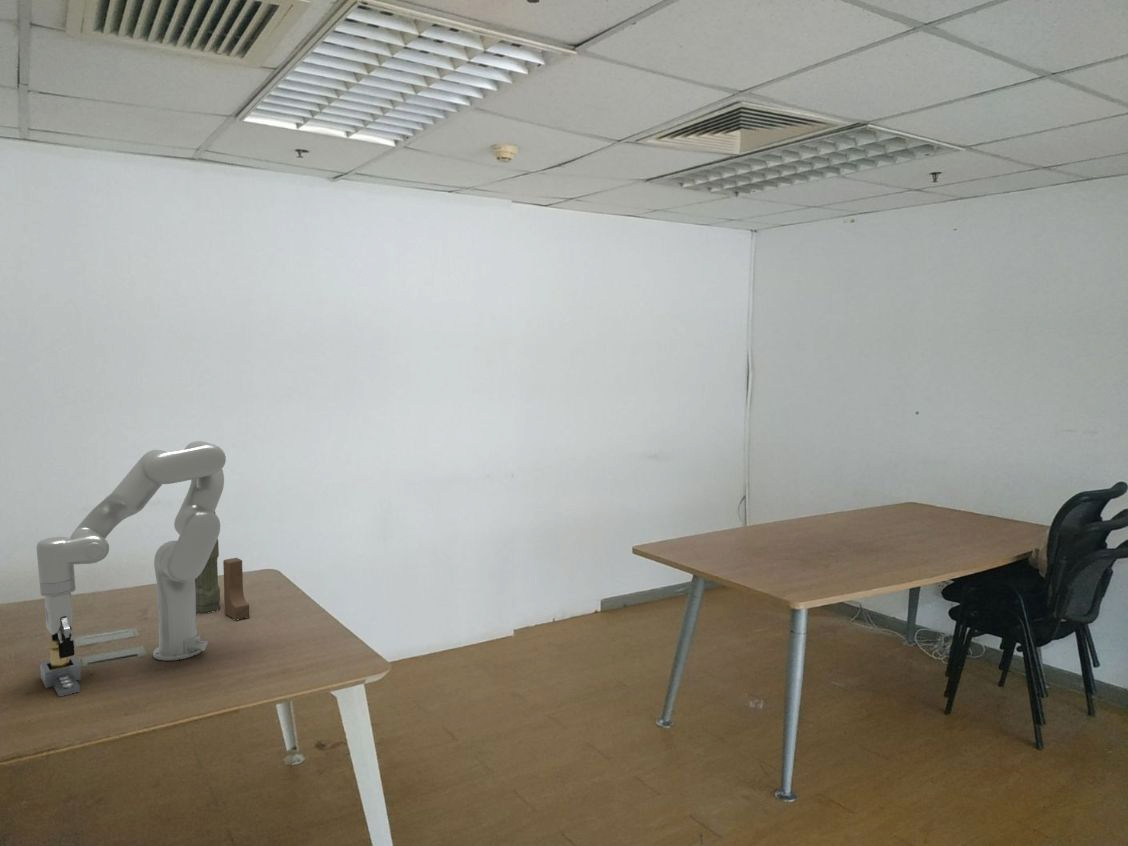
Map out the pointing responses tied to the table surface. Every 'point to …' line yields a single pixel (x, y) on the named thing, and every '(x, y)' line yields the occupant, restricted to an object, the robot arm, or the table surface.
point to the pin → (56, 655)
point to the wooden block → (234, 589)
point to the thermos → (208, 585)
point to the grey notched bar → (62, 677)
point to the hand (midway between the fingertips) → (63, 651)
